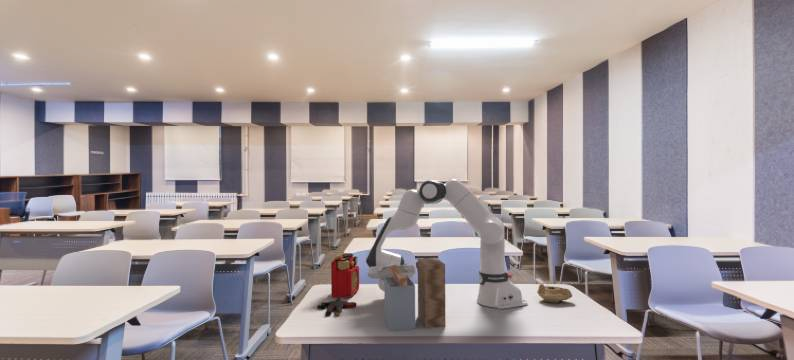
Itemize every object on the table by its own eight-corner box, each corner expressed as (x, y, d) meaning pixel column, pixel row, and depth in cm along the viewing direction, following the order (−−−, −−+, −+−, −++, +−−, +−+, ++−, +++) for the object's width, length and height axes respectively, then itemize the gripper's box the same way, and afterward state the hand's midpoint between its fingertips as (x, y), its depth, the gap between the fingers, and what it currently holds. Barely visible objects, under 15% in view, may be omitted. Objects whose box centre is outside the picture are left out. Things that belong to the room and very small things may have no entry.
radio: (350, 299, 178) (350, 257, 178) (330, 298, 180) (330, 256, 180) (360, 289, 193) (360, 251, 193) (341, 288, 195) (341, 250, 195)
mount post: (436, 315, 156) (436, 258, 156) (445, 326, 144) (445, 264, 144) (418, 316, 154) (417, 258, 154) (425, 327, 142) (425, 265, 142)
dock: (408, 317, 153) (408, 276, 154) (415, 328, 142) (414, 284, 142) (384, 319, 152) (384, 277, 152) (389, 330, 140) (389, 285, 140)
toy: (358, 307, 167) (358, 301, 167) (335, 319, 153) (335, 312, 153) (332, 302, 175) (332, 296, 175) (307, 313, 161) (307, 306, 161)
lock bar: (396, 272, 161) (396, 265, 161) (406, 286, 139) (406, 277, 139) (389, 272, 160) (389, 265, 160) (399, 286, 139) (399, 278, 139)
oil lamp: (576, 305, 168) (576, 287, 168) (543, 305, 167) (543, 287, 167) (564, 297, 179) (564, 280, 179) (534, 297, 178) (533, 281, 178)
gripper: (366, 269, 168) (369, 259, 157) (410, 267, 172) (416, 257, 160) (367, 283, 165) (370, 274, 153) (412, 281, 169) (418, 272, 157)
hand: (394, 266), depth 157 cm, fingers open, 8 cm apart
